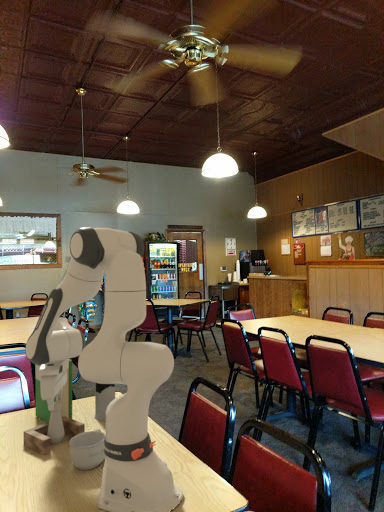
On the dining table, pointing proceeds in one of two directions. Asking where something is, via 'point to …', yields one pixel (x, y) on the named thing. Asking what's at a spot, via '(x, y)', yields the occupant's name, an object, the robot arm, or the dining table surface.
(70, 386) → the hardback book
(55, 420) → the salt shaker
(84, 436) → the teacup
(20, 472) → the dining table surface
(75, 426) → the walnut holder
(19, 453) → the dining table surface
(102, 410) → the tall mug
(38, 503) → the dining table surface
